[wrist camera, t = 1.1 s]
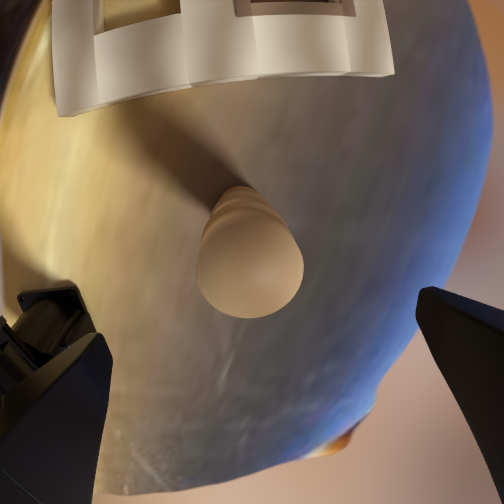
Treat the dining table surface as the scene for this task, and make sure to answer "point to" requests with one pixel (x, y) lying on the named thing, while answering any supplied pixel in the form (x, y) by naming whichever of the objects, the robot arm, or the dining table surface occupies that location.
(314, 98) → the dining table surface
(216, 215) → the peg
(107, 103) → the board
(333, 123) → the dining table surface
